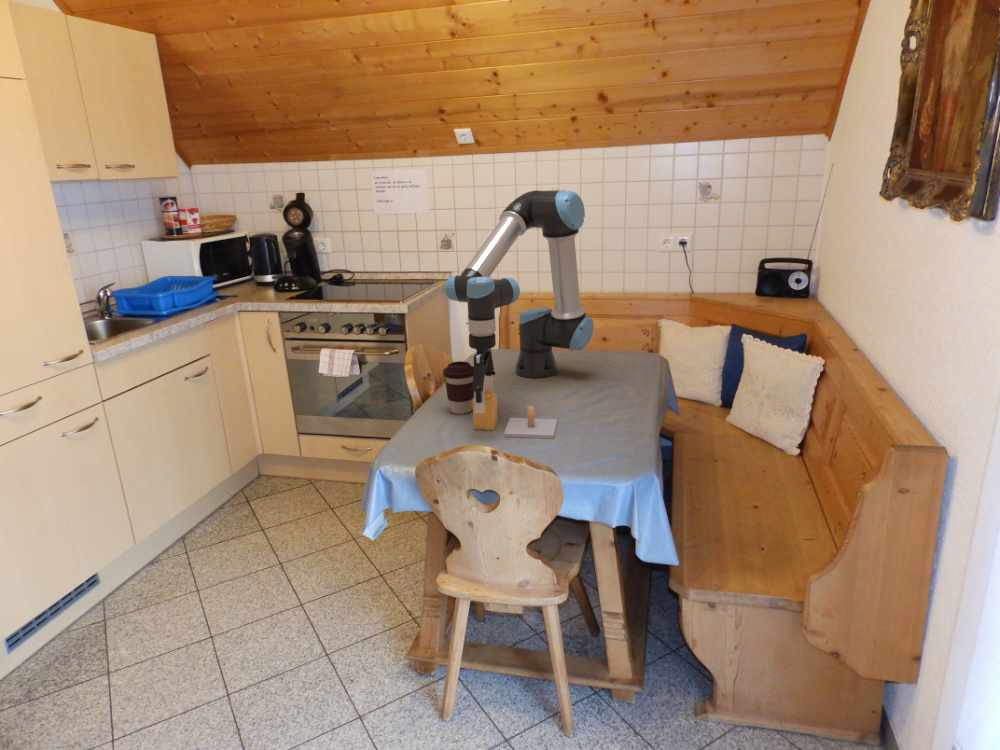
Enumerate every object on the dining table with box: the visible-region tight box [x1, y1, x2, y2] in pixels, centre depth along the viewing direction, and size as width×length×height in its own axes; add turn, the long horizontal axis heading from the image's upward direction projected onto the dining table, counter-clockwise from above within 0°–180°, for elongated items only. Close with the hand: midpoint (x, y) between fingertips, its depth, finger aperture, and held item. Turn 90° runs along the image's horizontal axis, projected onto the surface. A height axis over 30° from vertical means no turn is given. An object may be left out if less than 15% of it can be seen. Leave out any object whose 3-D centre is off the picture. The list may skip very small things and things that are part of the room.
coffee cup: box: [442, 361, 474, 415], centre depth 208 cm, size 10×10×15 cm
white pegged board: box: [503, 405, 558, 440], centre depth 193 cm, size 12×14×7 cm
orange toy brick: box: [472, 391, 499, 431], centre depth 196 cm, size 6×6×10 cm
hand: (484, 404), depth 195 cm, fingers open, 13 cm apart
